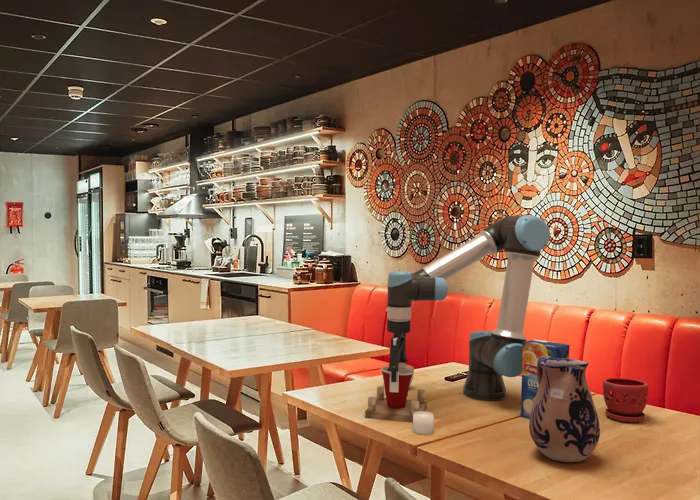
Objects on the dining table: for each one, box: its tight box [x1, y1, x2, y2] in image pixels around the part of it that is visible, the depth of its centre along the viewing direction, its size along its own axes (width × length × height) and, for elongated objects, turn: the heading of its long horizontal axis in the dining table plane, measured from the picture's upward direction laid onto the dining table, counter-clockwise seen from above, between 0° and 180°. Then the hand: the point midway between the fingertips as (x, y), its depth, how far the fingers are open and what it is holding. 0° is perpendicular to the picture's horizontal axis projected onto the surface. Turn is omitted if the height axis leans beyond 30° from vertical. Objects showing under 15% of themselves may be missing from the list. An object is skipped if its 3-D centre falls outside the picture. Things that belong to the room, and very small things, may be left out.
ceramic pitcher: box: [528, 356, 601, 463], centre depth 162 cm, size 18×21×25 cm
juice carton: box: [520, 338, 570, 420], centre depth 193 cm, size 12×8×24 cm, turn 41°
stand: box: [364, 385, 428, 423], centre depth 197 cm, size 17×17×6 cm
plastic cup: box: [380, 365, 415, 408], centre depth 197 cm, size 11×11×12 cm
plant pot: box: [602, 377, 649, 423], centre depth 195 cm, size 13×13×12 cm
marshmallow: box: [412, 410, 435, 435], centre depth 179 cm, size 6×6×5 cm
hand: (397, 387), depth 197 cm, fingers open, 12 cm apart
